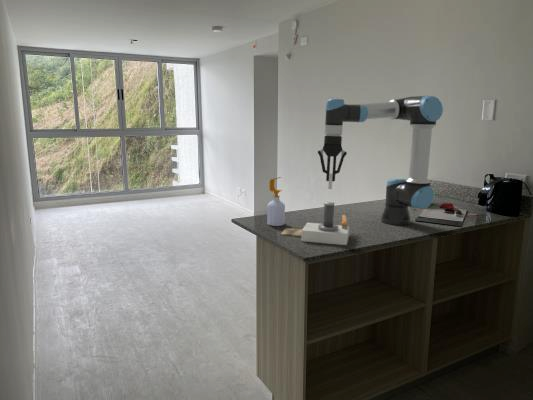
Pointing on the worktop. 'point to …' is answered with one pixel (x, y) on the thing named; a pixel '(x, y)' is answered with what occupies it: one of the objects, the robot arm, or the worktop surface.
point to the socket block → (325, 234)
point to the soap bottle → (275, 208)
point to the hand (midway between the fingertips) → (330, 188)
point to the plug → (328, 218)
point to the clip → (344, 220)
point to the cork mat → (292, 232)
